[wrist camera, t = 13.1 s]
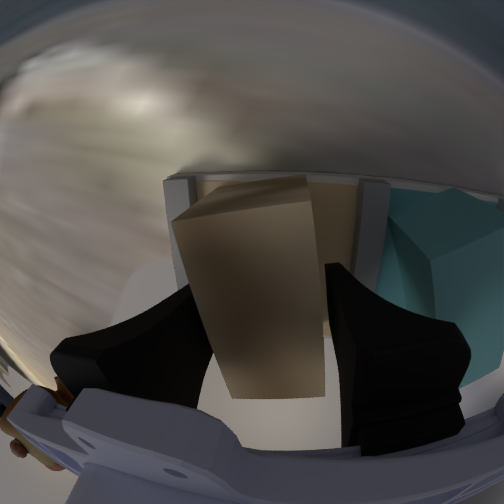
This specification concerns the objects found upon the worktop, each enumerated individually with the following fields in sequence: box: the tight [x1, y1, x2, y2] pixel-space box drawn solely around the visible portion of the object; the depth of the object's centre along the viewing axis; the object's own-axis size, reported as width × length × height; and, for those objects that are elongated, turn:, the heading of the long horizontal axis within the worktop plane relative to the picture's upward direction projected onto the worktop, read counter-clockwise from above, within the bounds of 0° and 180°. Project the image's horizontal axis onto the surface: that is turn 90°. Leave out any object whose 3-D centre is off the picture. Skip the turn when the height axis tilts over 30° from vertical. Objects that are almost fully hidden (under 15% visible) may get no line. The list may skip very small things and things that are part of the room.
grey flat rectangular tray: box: [163, 171, 504, 338], centre depth 13 cm, size 19×9×2 cm, turn 92°
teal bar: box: [387, 187, 504, 389], centre depth 10 cm, size 4×8×5 cm, turn 25°
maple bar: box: [171, 174, 325, 399], centre depth 11 cm, size 4×8×5 cm, turn 11°
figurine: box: [0, 376, 74, 471], centre depth 17 cm, size 10×8×15 cm
